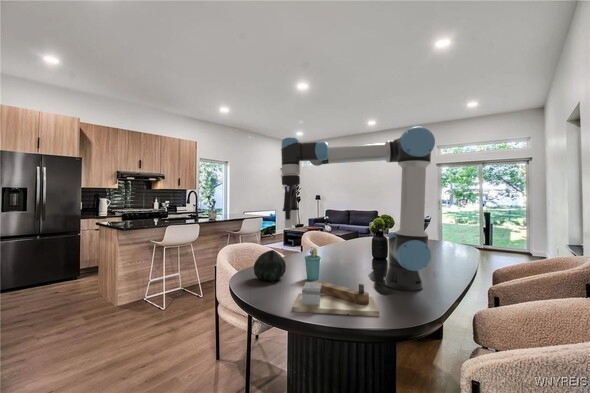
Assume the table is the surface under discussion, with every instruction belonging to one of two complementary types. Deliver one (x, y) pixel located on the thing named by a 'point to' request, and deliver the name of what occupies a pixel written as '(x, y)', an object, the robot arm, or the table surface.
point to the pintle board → (337, 306)
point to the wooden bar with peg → (345, 293)
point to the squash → (269, 266)
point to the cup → (312, 265)
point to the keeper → (311, 294)
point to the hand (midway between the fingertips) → (291, 226)
